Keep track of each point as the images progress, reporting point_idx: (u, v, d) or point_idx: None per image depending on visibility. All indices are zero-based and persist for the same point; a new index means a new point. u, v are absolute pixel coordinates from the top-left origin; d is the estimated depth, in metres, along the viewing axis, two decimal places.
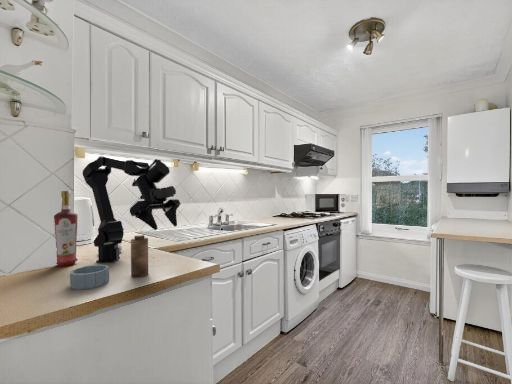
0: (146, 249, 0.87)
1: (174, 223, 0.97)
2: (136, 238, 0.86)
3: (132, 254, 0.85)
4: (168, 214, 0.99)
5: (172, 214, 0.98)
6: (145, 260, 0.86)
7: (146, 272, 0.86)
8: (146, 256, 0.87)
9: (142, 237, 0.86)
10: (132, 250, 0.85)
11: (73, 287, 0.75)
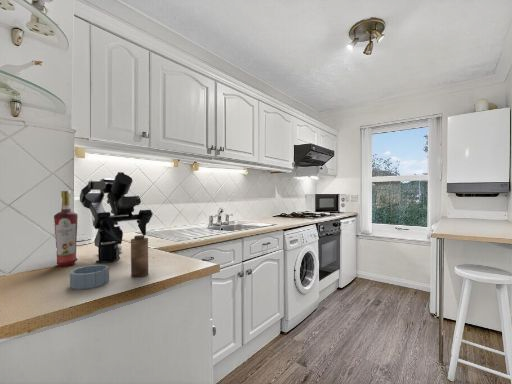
0: (146, 249, 0.87)
1: (143, 232, 0.95)
2: (136, 238, 0.86)
3: (132, 254, 0.85)
4: (140, 225, 0.98)
5: (142, 224, 0.96)
6: (145, 260, 0.86)
7: (146, 272, 0.86)
8: (146, 256, 0.87)
9: (142, 237, 0.86)
10: (132, 250, 0.85)
11: (73, 287, 0.75)
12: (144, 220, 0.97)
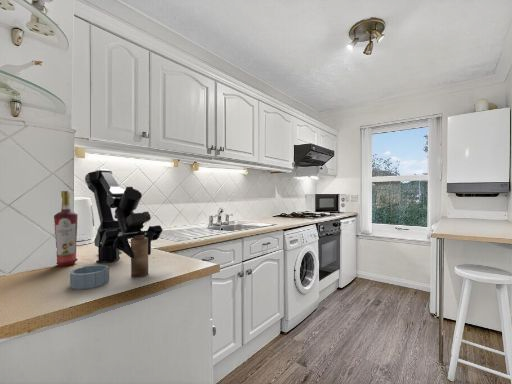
0: (146, 249, 0.87)
1: (148, 251, 0.89)
2: (136, 238, 0.86)
3: None
4: None
5: None
6: (145, 260, 0.86)
7: (146, 272, 0.86)
8: (146, 256, 0.87)
9: (142, 237, 0.86)
10: (132, 250, 0.85)
11: (73, 287, 0.75)
12: (149, 238, 0.91)
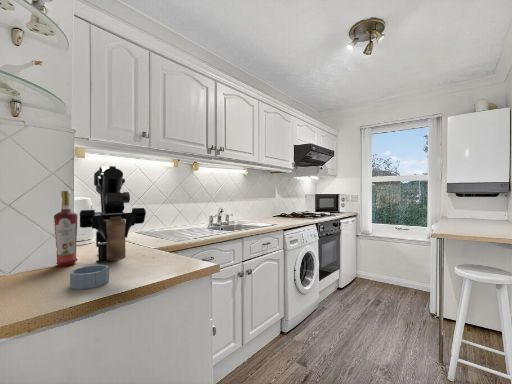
0: (121, 231, 0.81)
1: (125, 234, 0.83)
2: (111, 219, 0.81)
3: None
4: (125, 225, 0.87)
5: (125, 224, 0.85)
6: (119, 242, 0.81)
7: (121, 255, 0.81)
8: (121, 238, 0.81)
9: (117, 218, 0.82)
10: (106, 231, 0.81)
11: (73, 287, 0.75)
12: (128, 220, 0.86)
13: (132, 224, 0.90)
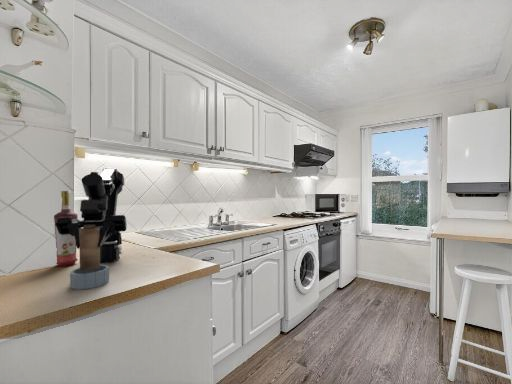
0: (92, 240, 0.78)
1: None
2: None
3: (79, 244, 0.78)
4: None
5: None
6: (90, 252, 0.78)
7: (92, 265, 0.78)
8: (92, 248, 0.78)
9: (89, 226, 0.78)
10: None
11: (73, 287, 0.75)
12: (105, 228, 0.82)
13: (112, 232, 0.86)
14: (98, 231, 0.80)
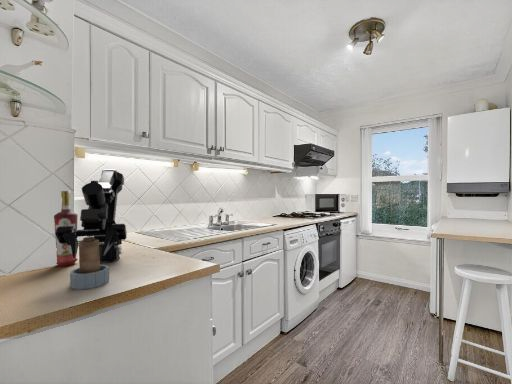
0: (92, 253, 0.78)
1: None
2: (83, 240, 0.78)
3: (79, 257, 0.78)
4: None
5: None
6: (90, 265, 0.77)
7: None
8: (92, 261, 0.78)
9: (89, 240, 0.78)
10: (79, 253, 0.78)
11: (73, 287, 0.75)
12: (108, 237, 0.82)
13: (116, 240, 0.86)
14: (98, 244, 0.80)
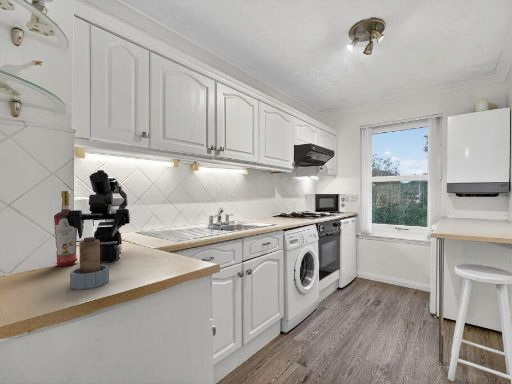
0: (92, 253, 0.78)
1: (111, 233, 0.89)
2: (84, 240, 0.79)
3: None
4: None
5: None
6: (90, 265, 0.78)
7: None
8: (92, 261, 0.78)
9: (89, 239, 0.78)
10: None
11: (73, 287, 0.75)
12: (116, 220, 0.91)
13: (123, 224, 0.95)
14: (98, 244, 0.80)
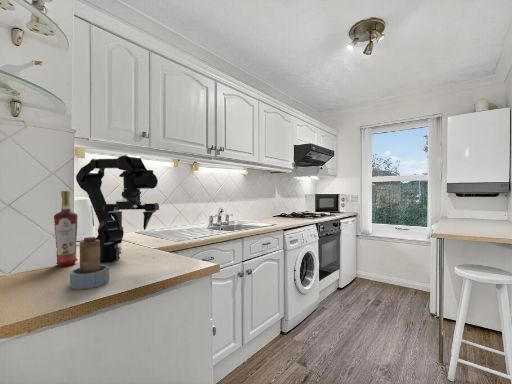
0: (93, 253, 0.78)
1: None
2: (84, 240, 0.79)
3: None
4: None
5: None
6: (91, 265, 0.78)
7: None
8: (93, 261, 0.78)
9: (90, 239, 0.78)
10: None
11: (73, 287, 0.75)
12: (145, 216, 0.99)
13: (153, 212, 1.03)
14: (98, 244, 0.80)
